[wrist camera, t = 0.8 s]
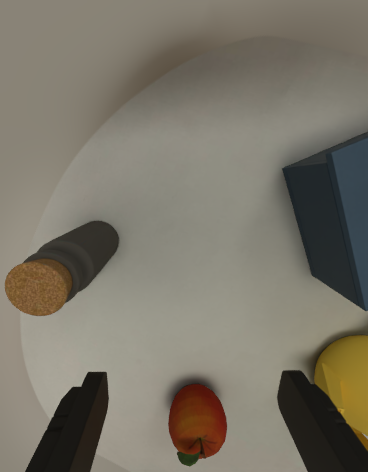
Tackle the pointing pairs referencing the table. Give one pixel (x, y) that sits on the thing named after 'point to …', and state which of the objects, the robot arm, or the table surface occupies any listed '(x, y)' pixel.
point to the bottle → (61, 268)
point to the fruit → (196, 423)
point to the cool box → (321, 221)
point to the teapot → (347, 380)
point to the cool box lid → (353, 207)
